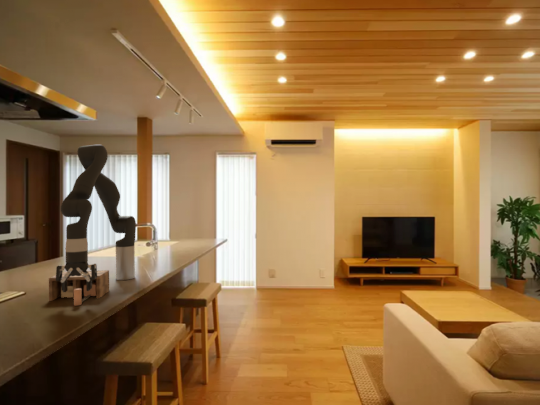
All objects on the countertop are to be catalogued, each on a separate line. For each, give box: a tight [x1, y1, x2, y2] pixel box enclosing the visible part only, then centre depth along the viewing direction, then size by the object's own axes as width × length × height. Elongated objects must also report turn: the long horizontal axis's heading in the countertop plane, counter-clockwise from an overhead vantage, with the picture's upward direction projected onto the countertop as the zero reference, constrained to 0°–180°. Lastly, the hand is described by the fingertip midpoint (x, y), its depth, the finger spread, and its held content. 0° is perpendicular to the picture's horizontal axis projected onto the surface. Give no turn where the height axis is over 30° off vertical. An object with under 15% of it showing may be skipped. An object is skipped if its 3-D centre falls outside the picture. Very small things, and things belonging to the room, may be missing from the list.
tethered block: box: [73, 282, 97, 307], centre depth 136 cm, size 18×5×6 cm, turn 9°
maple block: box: [60, 284, 73, 299], centre depth 142 cm, size 5×5×5 cm
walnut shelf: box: [48, 269, 110, 302], centre depth 142 cm, size 12×20×9 cm, turn 99°
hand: (76, 291), depth 128 cm, fingers open, 8 cm apart
